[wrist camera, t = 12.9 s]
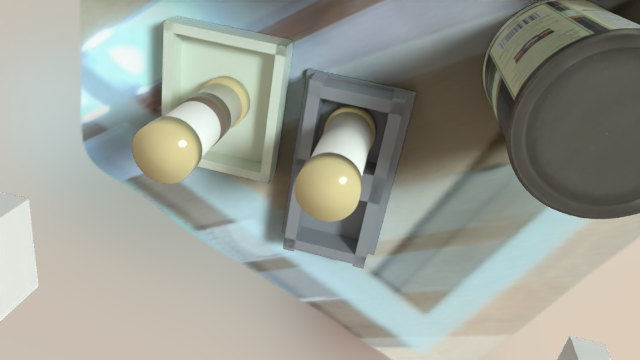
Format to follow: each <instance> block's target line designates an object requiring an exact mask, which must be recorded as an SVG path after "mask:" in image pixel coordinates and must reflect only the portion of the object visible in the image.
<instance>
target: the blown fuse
mask: <svg viewBox="0 0 640 360" xmlns="http://www.w3.org/2000/svg"><path fill="white" fill-rule="evenodd" d="M249 109H250V96H249V93H248V91H247V89H246V88H245V86H244V85H243V84H242V83H241V82H240V81H238V80H237V79H235V78H233V77H229V76H218V77H216V78H213V79H212V80H210V81H209V82H208V83H206V84H205V85H203V86H202V87H201V89H200V90H199V92H198V93H196V94H194V95H192V96H191V97H189V98H188V99H187V100H185V101H184V102H182V103H181V104H180V105H178V106H177V107H176V108H175V109H174V110H172V111H171V112H169V113H168V114H167V115H165V116H162V117H158V118H156V119H154V120H153V121H151V122H150V123H148V124H147V125H145V126H144V127H143V128H141V129H140V130H139V131H138V132H137V133H136V135H135V136H134V139H133V142H132V153H133V157H134V159H135V162H136V164H137V165H138V167H139V168H140V169H141V171H142V172H143V173H144V174H146V175H147V176H148V177H150V178H151V179H153V180H155V181H157V182H160V183H165V184H173V183H177V182H180V181H182V180H183V179H185V178H186V177H187V176H188V175H189V174H190V173H191V172H192V171H193V170H194V169H195V168H196V167H197V165H198V164H199V162H200V160H201V157H202V156H203V155H204V154H205V153H206V152H207V151H208V150H209V149H210V148H211V147H213V146H214V145H215V144H216V143H217V142H218V141H219V140H220V139H221V138H222V137H223V136H224V135H225V134H226V133H227V132H228V130H229V129H230V128H233V127H235V126H236V125H237V124H239V123H240V122H241V121H242V119H243V118H244V117H245V116H246V115H247V114H248V112H249Z"/></svg>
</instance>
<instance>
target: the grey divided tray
mask: <svg viewBox="0 0 640 360" xmlns="http://www.w3.org/2000/svg"><path fill="white" fill-rule="evenodd" d="M415 96H416V92H415V91H410V90H406V89H401V88H397V87H392V86H387V85H383V84H378V83H373V82H369V81H364V80H359V79H355V78H350V77H346V76H341V75H336V74H332V73H327V72H322V71H318V70H313V69H308V70H307V74H306V81H305V87H304V94H303V100H302V106H301V113H300V119H299V126H298V132H297V139H296V145H295V151H294V158H293V164H292V171H291V177H290V184H289V190H288V196H287V203H286V209H285V216H284V222H283V229H282V233H285V239H284V245H283V249H286V250H290V251H294V249H296V250H300V251H304V252H308V253H312V254H316V255H320V256H324V257H328V258H332V259H336V260H340V261H344V262H348V263H352V264H353V266H354V267H358V268H362V269H363V268H364V264H365V260H366V256H367V254H371V255H374V253H375V249H376V246H377V242H378V238H379V234H380V230H381V226H382V223H383V219H384V215H385V211H386V207H387V203H388V200H389V196H390V192H391V188H392V184H393V180H394V177H395V173H396V169H397V165H398V161H399V158H400V154H401V150H402V146H403V142H404V138H405V135H406V131H407V127H408V123H409V119H410V115H411V112H412V108H413V104H414V100H415ZM343 104H350V105H354V106H359V107H363V108H367V109H368V110H369V111H370V112H371V113H372V114H373V116H374V118H375V120H376V125H377V130H376V135H375V139H374V143H373V145H372V146H371V148H370V149H369V152H368V156H367V160H366V163H365V167H364V171H363V175H362V190H361V194H360V198H359V202H358V205H357V207H356V208H355V210H354V211H353V212H352V213H351V214H350V215H349V216H347V217H346V218H344V219H342V220H338V221H331V222H328V221H321V220H318V219H315V218H313V217H311V216H309V215H308V214H307V213H306V212H304V211H303V210H302V208H301V207H300V206H299V204H298V202H297V200H296V197H295V193H294V185H295V181H296V179H297V177H298V175H299V173H300V171H301V169H302V167H303V165H304V164H305V163H306V161H307V160H309V159H310V158H311V156H312V154H313V152H314V150H315V148H316V146H317V144H318V143H319V141H320V139H321V137H322V135H323V133H324V127H325V124H326V122H327V120H328V118H329V116H330V114H331V113H332V111H333V110H334V109H336V108H337V107H338V106H340V105H343Z"/></svg>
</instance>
